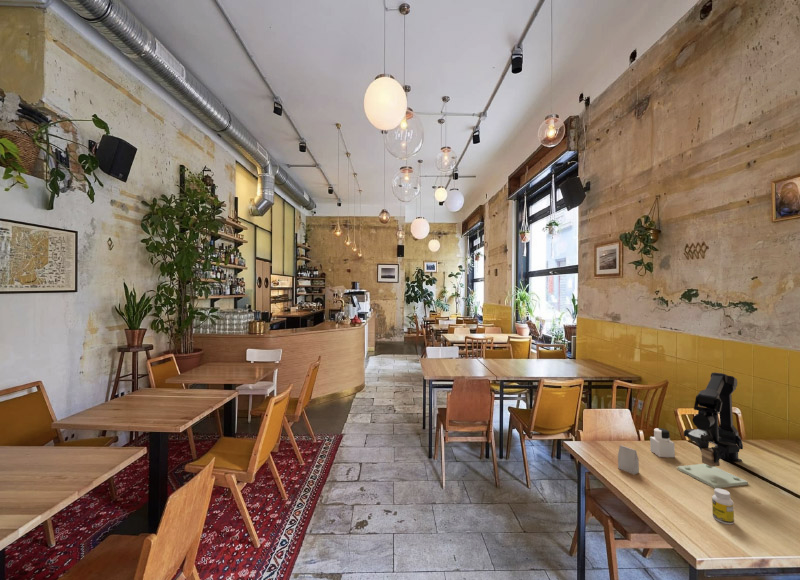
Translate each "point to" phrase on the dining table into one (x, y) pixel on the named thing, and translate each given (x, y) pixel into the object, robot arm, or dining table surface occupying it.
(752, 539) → the dining table surface
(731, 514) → the supplement bottle
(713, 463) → the brown rectangular block
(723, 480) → the baseplate
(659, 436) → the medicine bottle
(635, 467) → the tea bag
